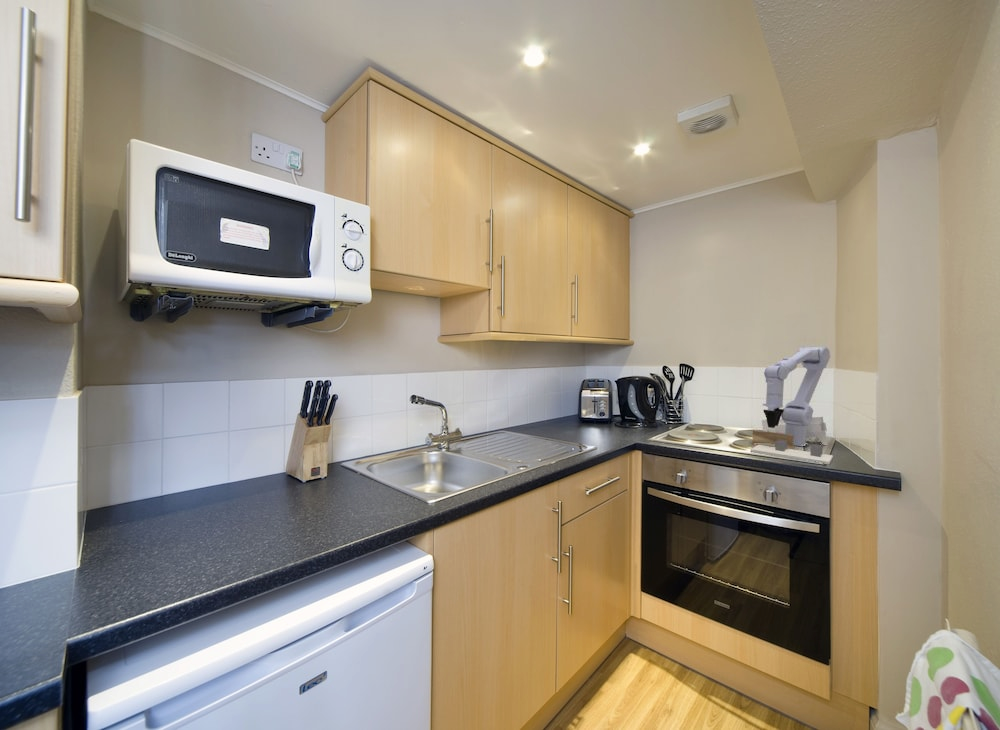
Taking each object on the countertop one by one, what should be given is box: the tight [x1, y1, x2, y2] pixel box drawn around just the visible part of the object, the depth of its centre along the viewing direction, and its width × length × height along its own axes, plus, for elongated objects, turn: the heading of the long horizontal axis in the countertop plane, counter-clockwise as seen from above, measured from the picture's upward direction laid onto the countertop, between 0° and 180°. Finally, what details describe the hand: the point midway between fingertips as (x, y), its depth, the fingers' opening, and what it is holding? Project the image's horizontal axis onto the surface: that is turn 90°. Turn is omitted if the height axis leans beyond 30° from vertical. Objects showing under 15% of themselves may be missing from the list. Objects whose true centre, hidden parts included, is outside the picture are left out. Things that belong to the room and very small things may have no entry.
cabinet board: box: [750, 439, 834, 465], centre depth 154 cm, size 13×24×4 cm, turn 46°
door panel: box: [751, 429, 794, 450], centre depth 167 cm, size 2×14×6 cm, turn 46°
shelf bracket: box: [761, 416, 829, 446], centre depth 182 cm, size 6×25×13 cm, turn 25°
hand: (773, 426), depth 167 cm, fingers open, 7 cm apart
